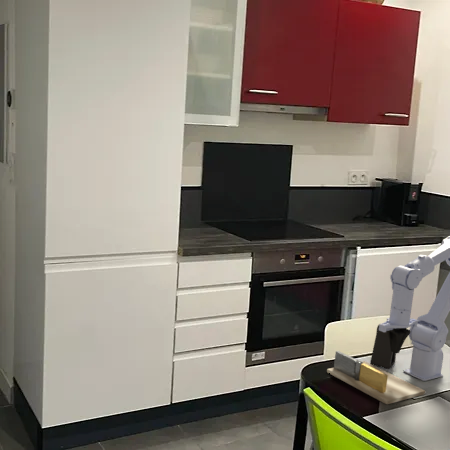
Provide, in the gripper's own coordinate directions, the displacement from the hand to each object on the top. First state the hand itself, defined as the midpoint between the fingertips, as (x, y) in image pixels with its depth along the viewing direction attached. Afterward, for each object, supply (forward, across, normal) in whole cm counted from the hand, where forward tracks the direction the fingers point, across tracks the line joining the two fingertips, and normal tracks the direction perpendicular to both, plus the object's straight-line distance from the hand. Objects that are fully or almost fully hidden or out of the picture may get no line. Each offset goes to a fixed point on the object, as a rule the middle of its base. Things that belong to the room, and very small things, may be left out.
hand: (394, 352), depth 189 cm
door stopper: (+10, -10, -12) cm, 18 cm away
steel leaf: (+8, +10, -8) cm, 15 cm away
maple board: (+9, +5, -2) cm, 11 cm away
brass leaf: (+8, +10, +2) cm, 13 cm away
